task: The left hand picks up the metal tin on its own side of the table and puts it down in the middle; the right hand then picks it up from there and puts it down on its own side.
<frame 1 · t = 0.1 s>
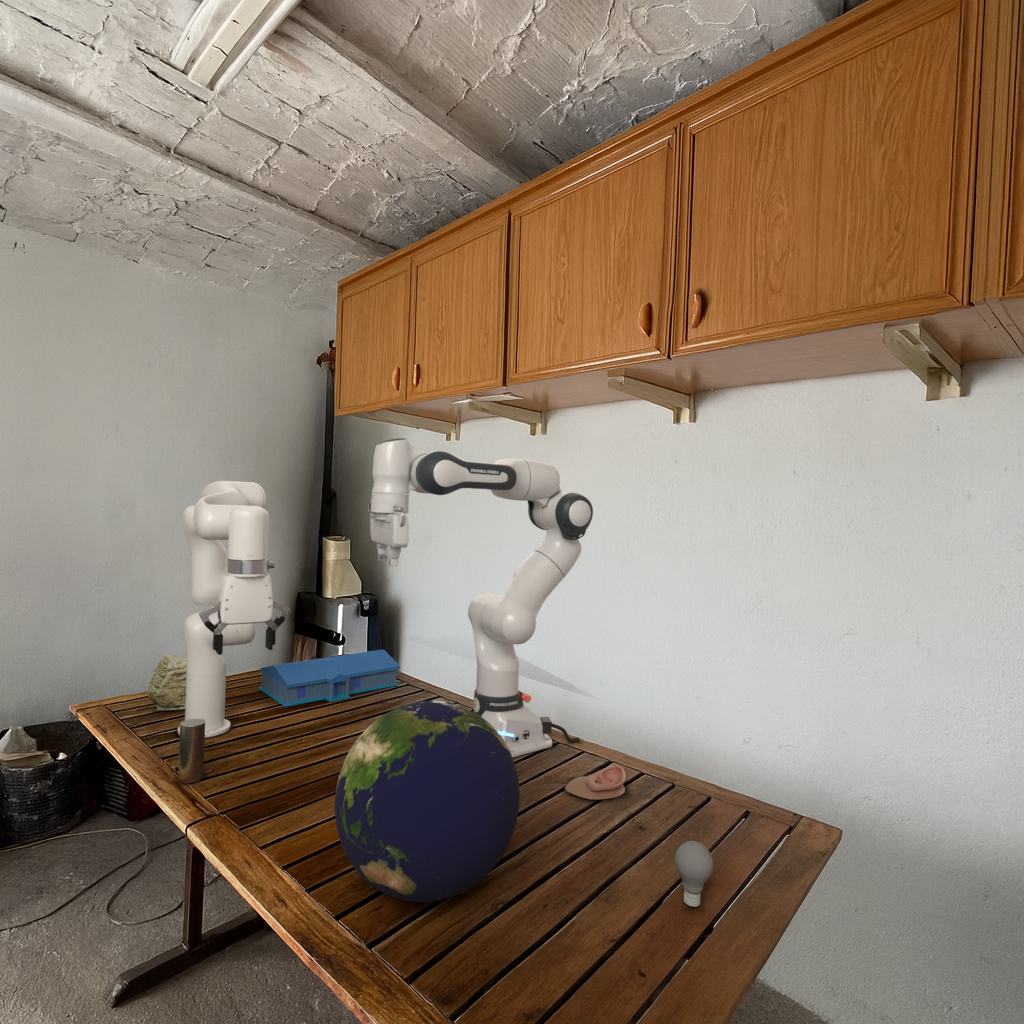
left hand: (244, 650, 130), 31 cm above the table, tool pointing down, fingers open, 9 cm apart
right hand: (387, 563, 151), 48 cm above the table, tool pointing down, fingers open, 8 cm apart
model building: (332, 688, 208), on the table
rubber human ear: (595, 789, 143), on the table
globe: (425, 886, 104), on the table
light bulb: (691, 905, 103), on the table
fossil: (183, 706, 185), on the table
tin: (190, 778, 140), on the table
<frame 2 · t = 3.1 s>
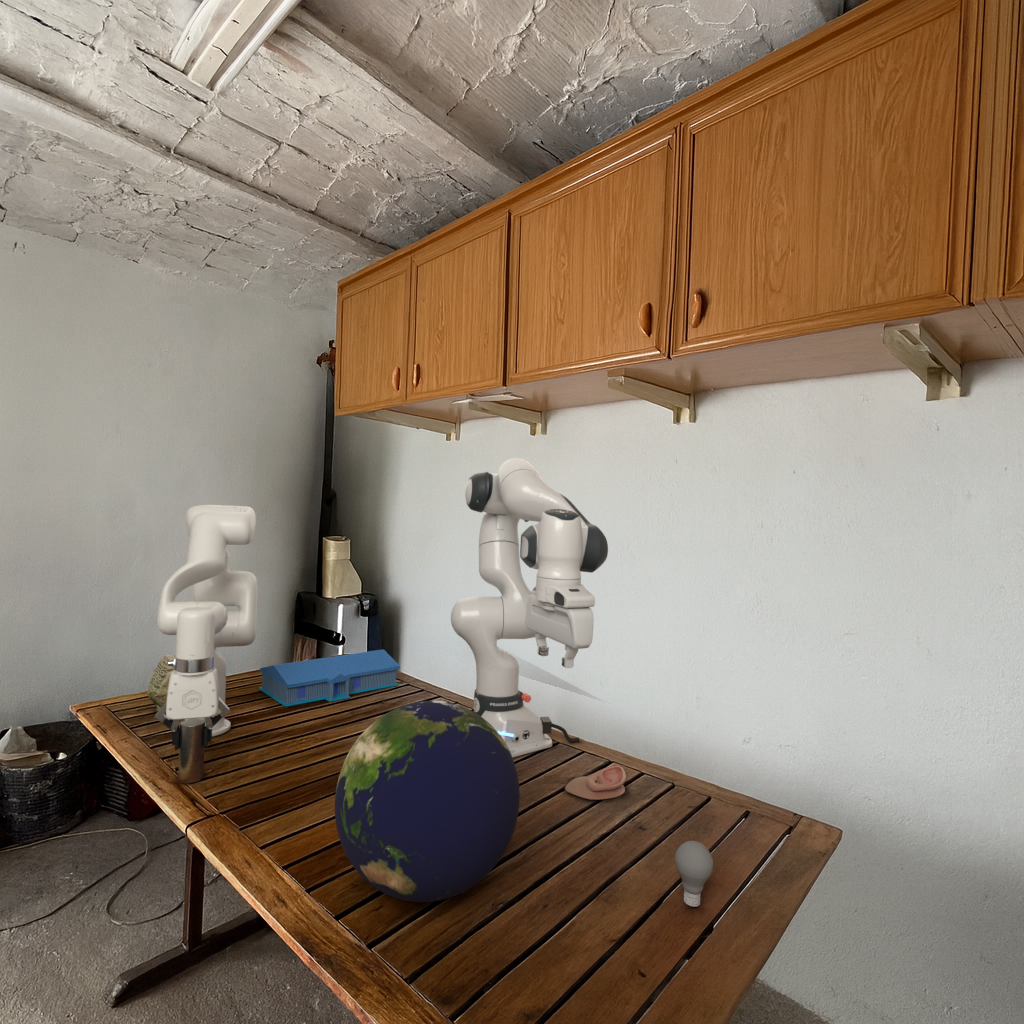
left hand: (191, 745, 139), 7 cm above the table, tool pointing down, fingers closed on tin, 5 cm apart
right hand: (554, 661, 126), 33 cm above the table, tool pointing down, fingers open, 8 cm apart
tin: (190, 778, 140), on the table, touching left hand
everything else where it was.
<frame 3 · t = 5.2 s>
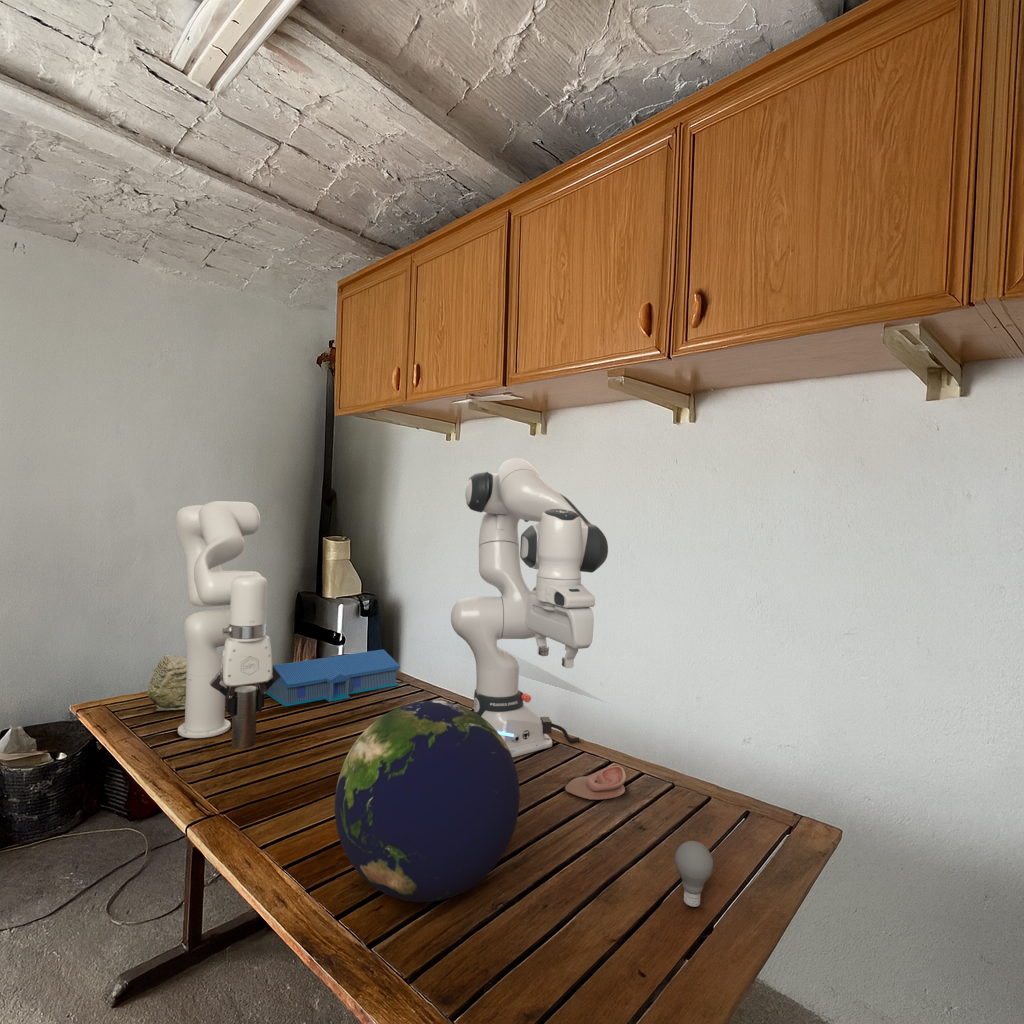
left hand: (244, 711, 141), 15 cm above the table, tool pointing down, fingers closed on tin, 5 cm apart
right hand: (554, 661, 126), 33 cm above the table, tool pointing down, fingers open, 8 cm apart
tin: (243, 744, 141), point 7 cm above the table, touching left hand
everything else where it was.
when the left hand's fingers open (8 cm above the table, at t = 7.4 s): tin stays where it is, on the table.
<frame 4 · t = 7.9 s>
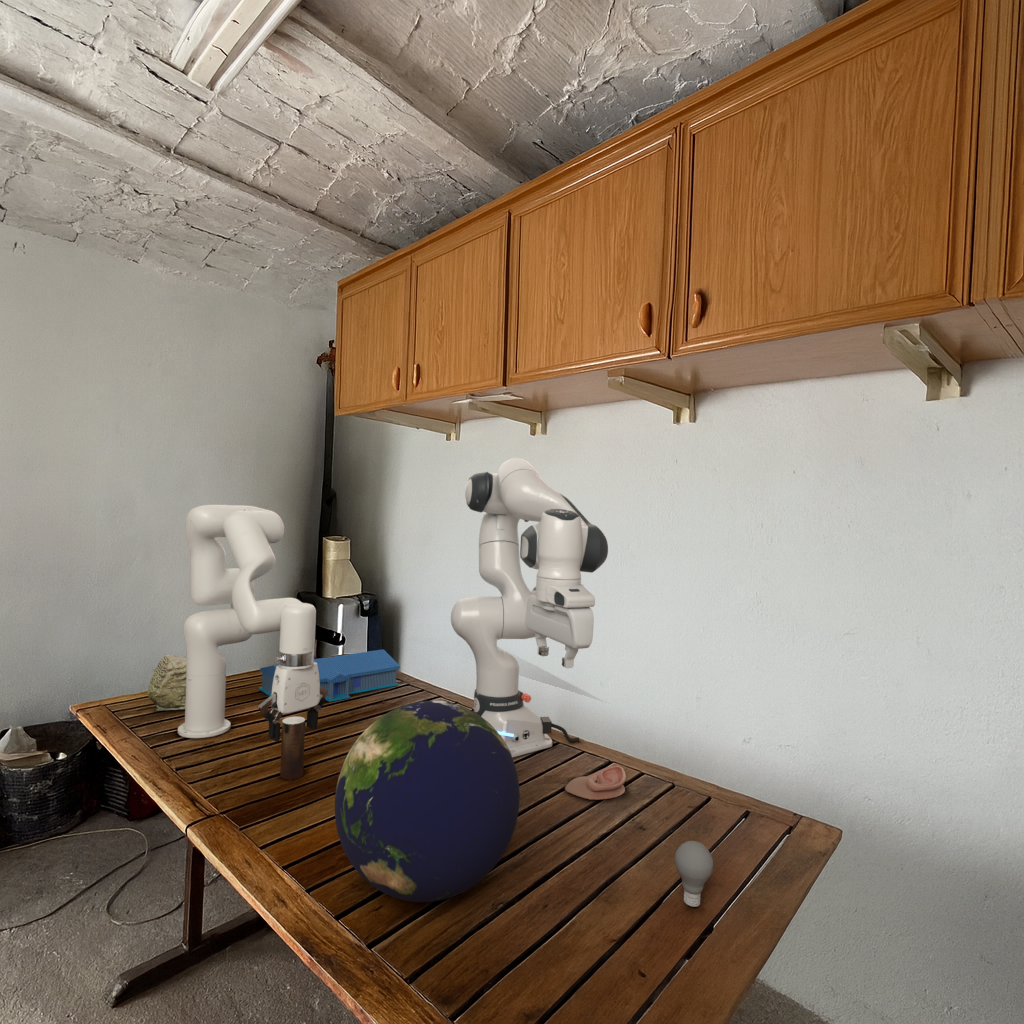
left hand: (293, 733, 143), 9 cm above the table, tool pointing down, fingers open, 9 cm apart
right hand: (554, 661, 126), 33 cm above the table, tool pointing down, fingers open, 8 cm apart
tin: (291, 774, 144), on the table
everything else where it was.
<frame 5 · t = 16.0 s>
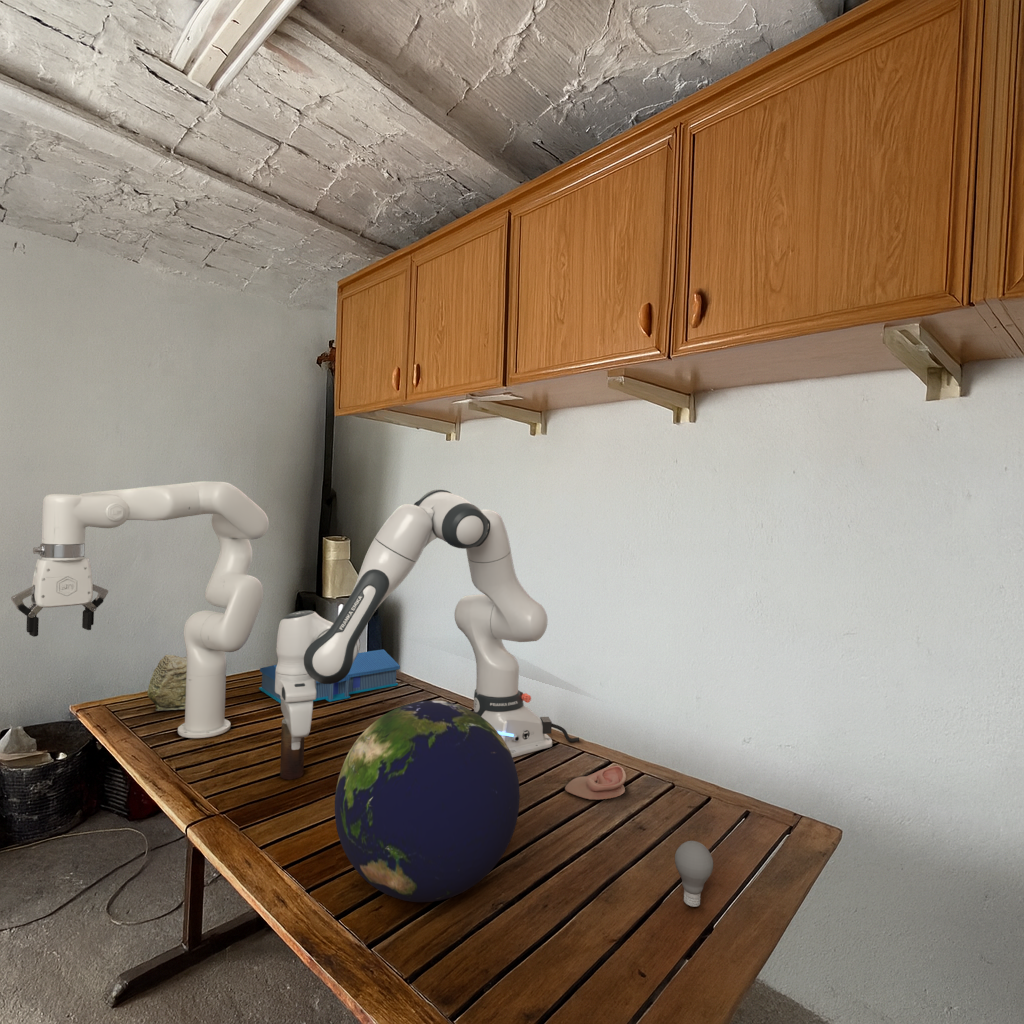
left hand: (60, 632, 135), 32 cm above the table, tool pointing down, fingers open, 9 cm apart
right hand: (293, 743, 143), 7 cm above the table, tool pointing down, fingers closed on tin, 5 cm apart
tin: (291, 774, 144), on the table, touching right hand
everything else where it was.
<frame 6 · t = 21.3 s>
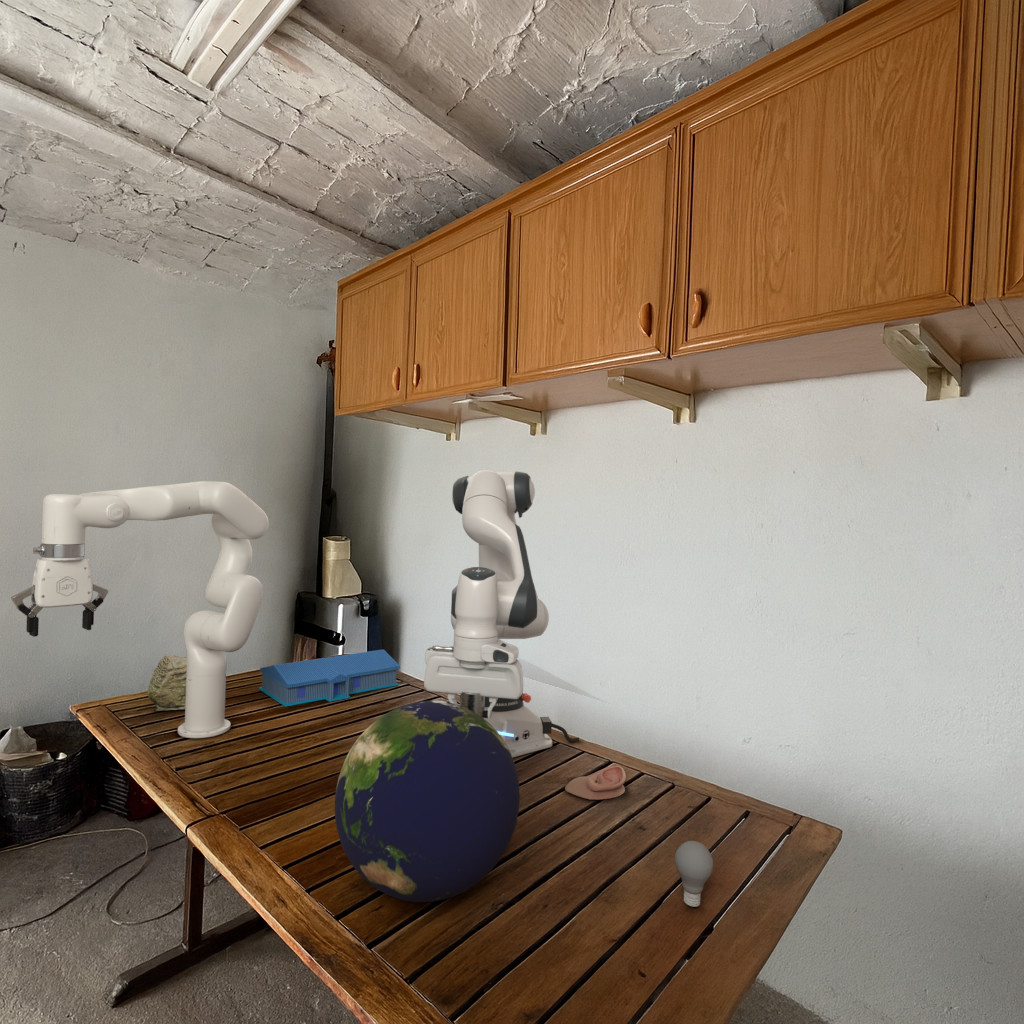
left hand: (60, 632, 135), 32 cm above the table, tool pointing down, fingers open, 9 cm apart
right hand: (472, 716, 129), 20 cm above the table, tool pointing down, fingers closed on tin, 5 cm apart
tin: (470, 751, 129), point 13 cm above the table, touching right hand
everything else where it was.
when the right hand's fingers open (8 cm above the table, at t = 26.7 s): tin stays where it is, on the table.
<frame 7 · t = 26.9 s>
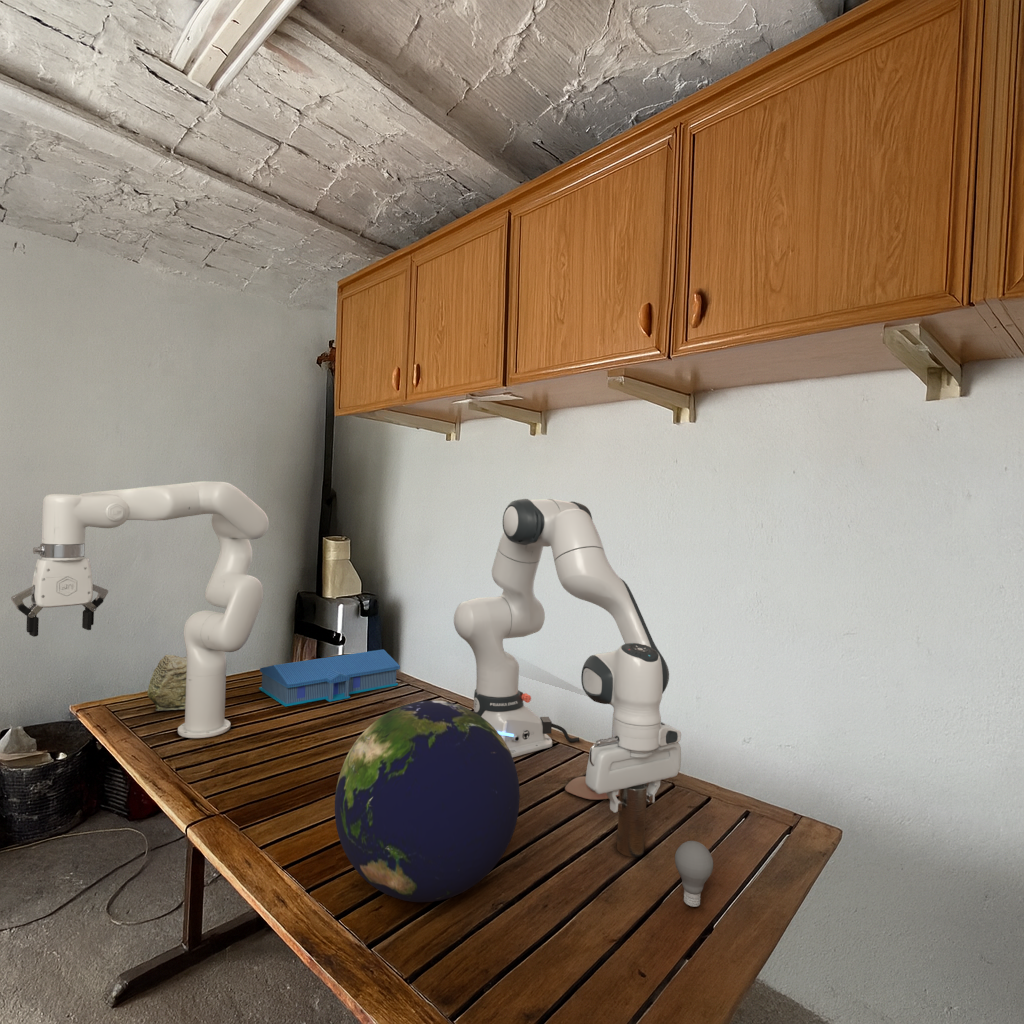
left hand: (60, 632, 135), 32 cm above the table, tool pointing down, fingers open, 9 cm apart
right hand: (632, 806, 118), 8 cm above the table, tool pointing down, fingers open, 6 cm apart
tin: (630, 849, 119), on the table
everything else where it was.
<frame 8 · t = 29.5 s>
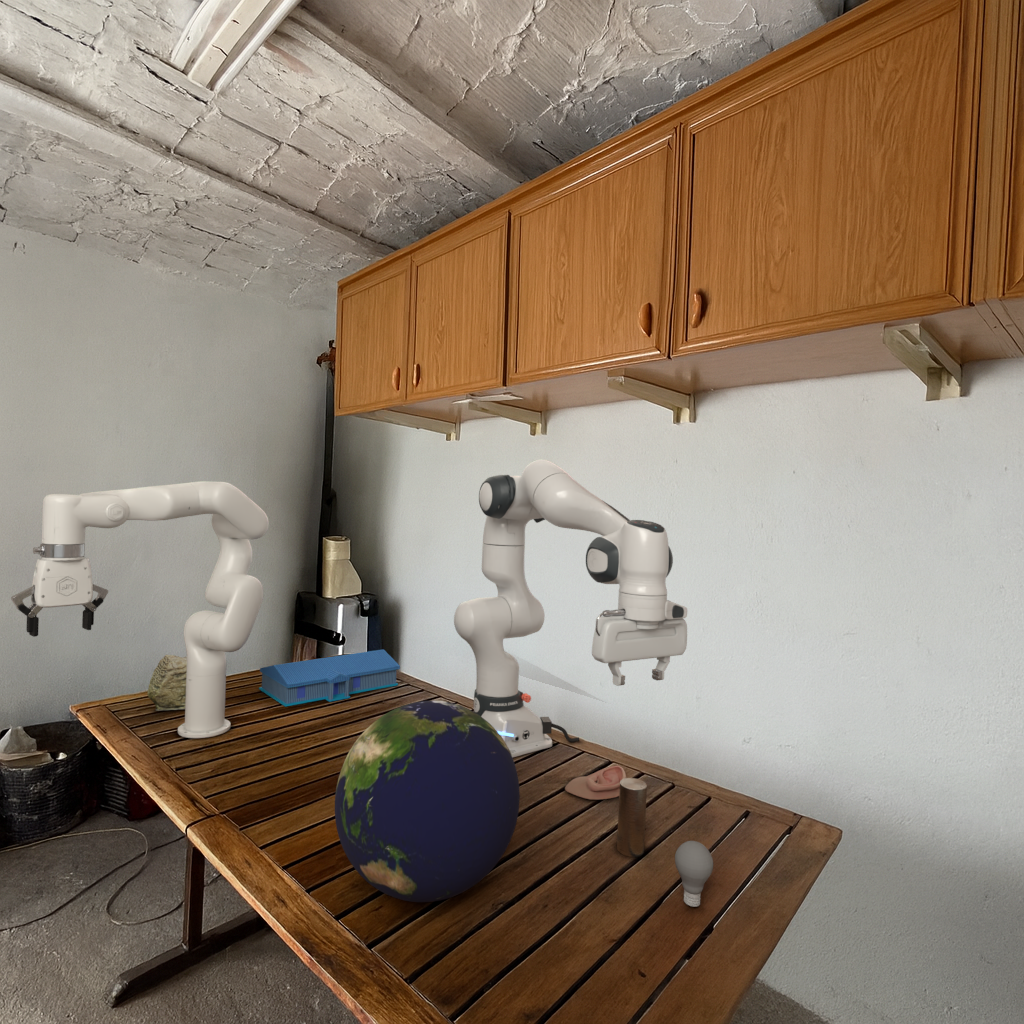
left hand: (60, 632, 135), 32 cm above the table, tool pointing down, fingers open, 9 cm apart
right hand: (638, 682, 118), 32 cm above the table, tool pointing down, fingers open, 8 cm apart
nothing on the table moved.
at the end: tin inside the target area (0.0 cm from its centre), on the table; tin tilted 0°; the two hands never held the tin at the same time; the left hand is holding nothing; the right hand is holding nothing; tin at rest at the end (0.0 cm/s) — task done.
